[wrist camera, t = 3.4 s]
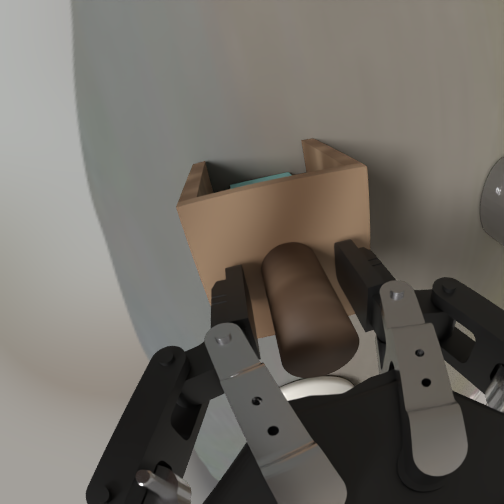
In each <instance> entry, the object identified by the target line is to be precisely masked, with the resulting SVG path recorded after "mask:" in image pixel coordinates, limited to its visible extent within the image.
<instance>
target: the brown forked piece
mask: <svg viewBox="0 0 504 504" xmlns="http://www.w3.org/2000/svg"><path fill="white" fill-rule="evenodd" d="M301 141H302V147H303V153H304V159H305V166H306V172H307V173H302V174H297V175H292V176H287V177H282V178H277V179H272V180H268V181H263V182H259V183H254V184H250V185H245V186H241V187H237V188H233V189H228V190H224V191H220V192H216V193H213V189H212V186H211V182H210V178H209V174H208V171H207V167H206V163H205V161H204V162H200V163H196V164H193V166H192V168H191V171H190V173H189V176H188V178H187V181H186V183H185V186H184V188H183V191H182V193H181V196H180V199H179V201H178V204H177V206H176V208H177V211H178V214H179V217H180V221H181V224H182V227H183V229H184V232H185V235H186V238H187V241H188V244H189V247H190V250H191V253H192V256H193V259H194V261H195V264H196V267H197V270H198V273H199V275H200V278H201V281H202V284H203V286H204V289H205V292H206V294H207V297H208V300H209V302H210V305H211V299H212V298H211V289H212V288H213V286H214V284H215V282H216V281H220V280H225V279H226V276H225V268H227V267H231V266H236V265H240V264H241V265H242V268H243V271H244V275H245V279H246V282H247V286H248V290H249V294H250V298H251V302H252V308H253V315H254V321H255V327H256V333H257V339H258V338H263V337H267V336H272V335H276V340H277V344H278V348H279V353H280V357H281V362H282V365H283V367H284V369H285V370H286V371H287V372H288V373H290V374H291V375H294V376H296V377H301V378H315V377H320V376H324V375H327V374H330V373H332V372H334V371H336V370H338V369H340V368H341V367H343V366H344V365H345V364H347V363H348V362H349V361H350V360H351V359H352V358H353V356H354V355H355V353H356V352H357V350H358V347H359V337H358V334H357V332H356V330H355V328H354V326H353V324H352V322H351V320H350V318H349V317H348V316H350V315H353V314H355V312H354V310H353V308H352V306H351V305H350V303H349V301H348V299H347V297H346V296H345V294H344V292H343V290H342V288H341V287H340V285H339V283H338V280H337V276H336V269H335V254H334V243H335V242H339V241H344V240H348V239H351V240H352V241H353V242H354V244H355V245H356V246H357V247H358V248H361V247H365V248H367V249H368V250H370V210H369V189H368V174H367V166H366V165H364V164H362V163H360V162H358V161H357V160H355V159H353V158H351V157H349V156H347V155H345V154H343V153H341V152H339V151H337V150H336V149H334V148H332V147H330V146H328V145H325V144H323V143H321V142H319V141H317V140H315V139H307V140H301Z"/></svg>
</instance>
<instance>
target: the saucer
mask: <svg viewBox="0 0 504 504" xmlns="http://www.w3.org/2000/svg"><path fill="white" fill-rule="evenodd" d="M353 387H354V386H353V384H352V383H351V382H350V381H348V380H346V379H344V378H340V377H333V376H321V377H315V378H307V379H302V380H299V381H295V382H292V383H289V384H287V385H284V386H282V387H280V390H281V391H282V393H283V395H284V396H285V398H286V399H287V401H289V400H293V399H298V398H302V397H306V396H310V395H329V394H341V393H344V392H346V391H348V390H350V389H352V388H353Z"/></svg>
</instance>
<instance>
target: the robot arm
mask: <svg viewBox="0 0 504 504" xmlns="http://www.w3.org/2000/svg"><path fill="white" fill-rule="evenodd" d="M480 216H481V222H482V226H483V228H484V230H485V231H486V233H488V234H489V235H490V236H491V237H493V238H494V239H495V240H497V241H498V242H499V243H501V244H502V245H503V246H504V157H502V158H501V159H500V160H499V161H498V162H497V163H496V164H495V165H494V167H493V168H492V170H491V172H490V173H489V175H488V177H487V180H486V183H485V185H484V189H483V193H482V198H481V204H480ZM334 254H335V269H336V276H337V280H338V283H339V285H340V287H341V288H342V290H343V292H344V294H345V296H346V297H347V299H348V301H349V303H350V305H351V306H352V308H353V310H354V312H355V314H356V315H357V317H358V319H359V321H360V323H361V325H362V327H363V328H364V330H365V332H368V331H371V330H374V331H375V333H376V337H375V344H376V351H377V359H378V367H379V375H376V376H374V377H371V378H368V379H367V380H365V381H363V382H362V383H360V384H358V385H357V386H355V387H353V388H352V389H350V390H348V391H346V392H344V393H341V394H329V395H310V396H306V397H302V398H298V399H293V400H289V401H287V399H286V398H285V396H284V395H283V393H282V391H281V390H280V388H279V387H278V385H277V383H276V382H275V380H274V378H273V377H272V375H271V374H270V372H269V370H268V369H267V367H266V366H265V364H264V363H261V362H260V361H259V359H261V358H260V352H259V346H258V340H257V333H256V327H255V321H254V315H253V308H252V302H251V298H250V294H249V290H248V286H247V282H246V279H245V275H244V271H243V268H242V265H241V264H240V265H236V266H231V267H227V268H225V276H226V279H225V280H220V281H216V282H215V284H214V286H213V288H212V289H211V298H212V299H211V329H210V330H209V331H208V332H207V333H206V335H205V338H204V342H203V343H202V344H200V345H199V346H197V347H195V348H192V349H190V350H188V351H185V352H184V350H183V349H182V348H180V347H177V346H168V347H165V348H162V349H160V350H159V351H157V352H156V353H155V354H154V355H153V357H152V358H151V360H150V362H149V364H148V366H147V368H146V370H145V372H144V374H143V376H142V378H141V380H140V381H139V383H138V385H137V387H136V389H135V391H134V393H133V395H132V397H131V399H130V401H129V403H128V405H127V407H126V409H125V411H124V413H123V415H122V417H121V419H120V421H119V423H118V425H117V427H116V429H115V431H114V433H113V435H112V437H111V439H110V441H109V443H108V445H107V447H106V449H105V451H104V453H103V455H102V457H101V459H100V462H99V464H98V466H97V468H96V470H95V472H94V475H93V477H92V479H91V481H90V483H89V485H88V487H87V490H86V500H87V503H88V504H191V488H190V486H189V484H188V483H187V482H186V481H185V480H184V479H183V476H184V473H185V470H186V468H187V465H188V462H189V459H190V456H191V453H192V450H193V448H194V445H195V442H196V439H197V436H198V433H199V430H200V427H201V425H202V422H203V419H204V416H205V413H206V410H207V407H208V404H209V401H210V400H211V399H213V398H215V397H217V396H220V395H222V394H224V393H225V395H226V397H227V400H228V402H229V404H230V406H231V409H232V411H233V413H234V415H235V417H236V420H237V422H238V424H239V426H240V428H241V430H242V432H243V435H244V437H245V439H246V441H247V442H246V444H245V445H244V447H243V448H242V450H241V451H240V453H239V454H238V456H237V457H236V459H235V460H234V461H233V463H232V464H231V466H230V467H229V469H228V470H227V471H226V473H225V474H224V476H223V477H222V478H221V480H220V481H219V482H218V484H217V485H216V487H215V488H214V489H213V491H212V492H211V493H210V495H209V496H208V497H207V498H206V500H205V501H204V502H203V504H504V310H502V309H501V308H499V307H498V306H496V305H495V304H493V303H492V302H490V301H489V300H487V299H486V298H484V297H483V296H481V295H480V294H478V293H477V292H475V291H473V290H472V289H470V288H469V287H467V286H466V285H464V284H462V283H461V282H459V281H457V280H456V279H453V278H448V277H444V278H440V279H437V280H436V281H435V282H434V284H433V288H432V289H431V290H414V289H413V288H412V286H411V285H409V284H408V283H406V282H403V281H397V280H396V279H395V278H394V277H393V276H392V275H391V273H390V272H389V271H388V270H387V268H386V267H385V266H384V265H383V264H382V262H381V261H380V260H379V259H378V258H377V256H376V255H375V254H374V253H373V252H372V251H370V250H368V249H367V248H365V247H361V248H358V247H357V246H356V245H355V244H354V242H353V241H352V240H351V239H348V240H344V241H339V242H335V243H334ZM456 321H457V322H459V323H460V324H462V325H463V326H464V327H466V328H467V329H468V330H470V331H471V332H472V333H473V334H474V336H475V339H476V341H473V340H472V339H471V338H469V337H468V336H467V335H465V334H464V333H463V332H461V331H460V330H459V329H457V328H456V327H455V323H456ZM444 360H445V361H446V362H447V363H449V364H450V365H451V366H452V367H453V368H455V369H456V370H457V371H458V372H459V373H461V374H462V375H463V376H464V377H465V378H466V379H468V380H469V381H470V382H471V383H472V384H473V385H475V386H476V387H477V388H478V389H479V390H480V391H481V392H483V393H484V394H485V398H486V401H487V404H486V405H484V404H482V403H479V402H477V401H475V400H473V399H470V398H468V397H466V396H463V395H461V394H459V393H457V392H454V391H452V388H451V384H450V380H449V376H448V372H447V369H446V365H445V362H444Z"/></svg>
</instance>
